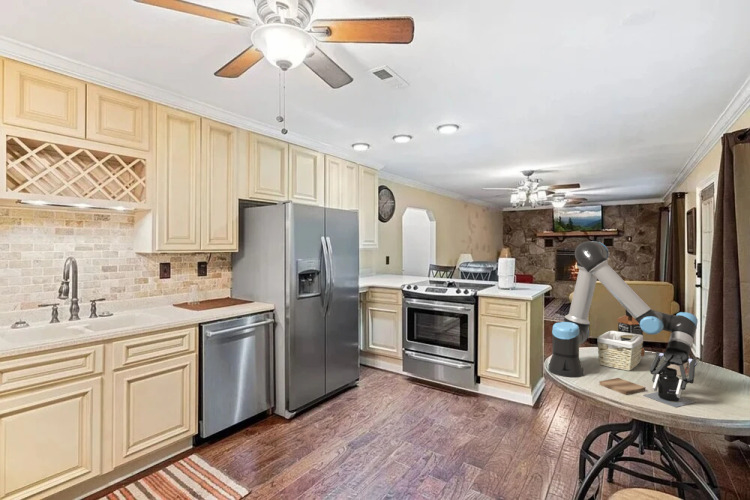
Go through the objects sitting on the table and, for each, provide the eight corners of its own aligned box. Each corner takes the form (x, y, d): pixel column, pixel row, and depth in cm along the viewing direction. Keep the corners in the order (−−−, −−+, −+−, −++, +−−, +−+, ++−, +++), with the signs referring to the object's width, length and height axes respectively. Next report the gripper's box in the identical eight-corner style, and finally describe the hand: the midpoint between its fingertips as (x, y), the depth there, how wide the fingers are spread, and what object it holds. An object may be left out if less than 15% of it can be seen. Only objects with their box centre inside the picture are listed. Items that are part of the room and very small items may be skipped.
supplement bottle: (673, 403, 145) (673, 372, 145) (654, 396, 151) (654, 367, 151) (683, 400, 148) (683, 370, 148) (664, 393, 154) (664, 365, 154)
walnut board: (599, 384, 165) (599, 381, 165) (618, 381, 169) (618, 377, 169) (626, 395, 154) (626, 391, 154) (645, 390, 158) (645, 387, 158)
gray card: (643, 395, 153) (643, 395, 153) (662, 391, 157) (662, 390, 157) (675, 407, 142) (675, 407, 142) (695, 402, 146) (695, 402, 146)
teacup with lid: (690, 378, 172) (690, 353, 172) (665, 374, 178) (666, 350, 177) (688, 370, 182) (688, 347, 182) (664, 367, 187) (665, 344, 187)
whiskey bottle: (630, 350, 216) (630, 296, 215) (645, 355, 206) (646, 298, 205) (615, 351, 214) (615, 296, 213) (629, 357, 204) (629, 299, 204)
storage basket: (609, 355, 207) (609, 329, 207) (644, 362, 196) (644, 334, 195) (595, 365, 191) (595, 337, 191) (633, 373, 179) (633, 343, 179)
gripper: (711, 355, 150) (699, 406, 141) (653, 345, 166) (639, 389, 157) (708, 345, 147) (695, 395, 138) (649, 335, 163) (634, 380, 154)
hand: (665, 392), depth 147 cm, fingers closed on supplement bottle, 7 cm apart
